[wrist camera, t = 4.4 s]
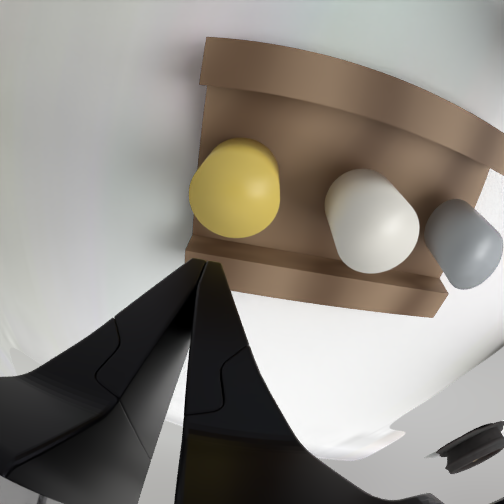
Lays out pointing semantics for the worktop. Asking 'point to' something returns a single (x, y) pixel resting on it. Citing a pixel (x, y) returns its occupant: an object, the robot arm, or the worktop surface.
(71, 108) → the worktop surface
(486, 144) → the key console
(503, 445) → the casserole
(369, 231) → the white key
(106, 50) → the worktop surface
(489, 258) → the grey rounded block
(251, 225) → the mustard key
